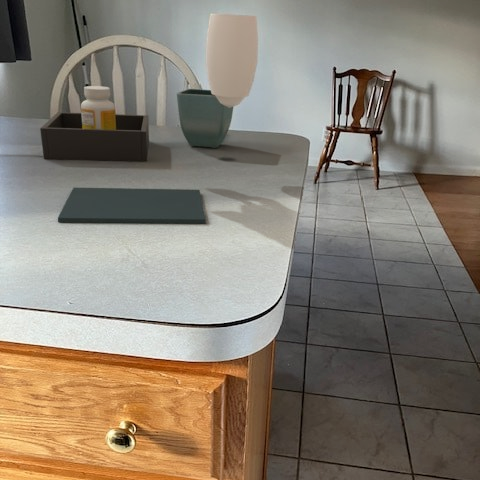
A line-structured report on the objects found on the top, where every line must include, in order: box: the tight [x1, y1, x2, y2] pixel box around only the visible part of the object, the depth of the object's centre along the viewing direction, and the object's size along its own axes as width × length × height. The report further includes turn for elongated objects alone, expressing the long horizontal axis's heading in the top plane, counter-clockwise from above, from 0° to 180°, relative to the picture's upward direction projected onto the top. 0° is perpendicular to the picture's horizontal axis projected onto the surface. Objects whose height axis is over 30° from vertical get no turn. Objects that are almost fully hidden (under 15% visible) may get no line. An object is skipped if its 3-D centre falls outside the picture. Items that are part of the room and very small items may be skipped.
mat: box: [57, 187, 207, 225], centre depth 65 cm, size 16×12×1 cm
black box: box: [39, 111, 150, 162], centre depth 90 cm, size 16×16×4 cm
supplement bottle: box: [80, 85, 116, 130], centre depth 88 cm, size 5×5×10 cm
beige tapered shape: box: [205, 12, 259, 108], centre depth 78 cm, size 7×7×21 cm
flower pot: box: [176, 88, 234, 149], centre depth 96 cm, size 9×9×9 cm
